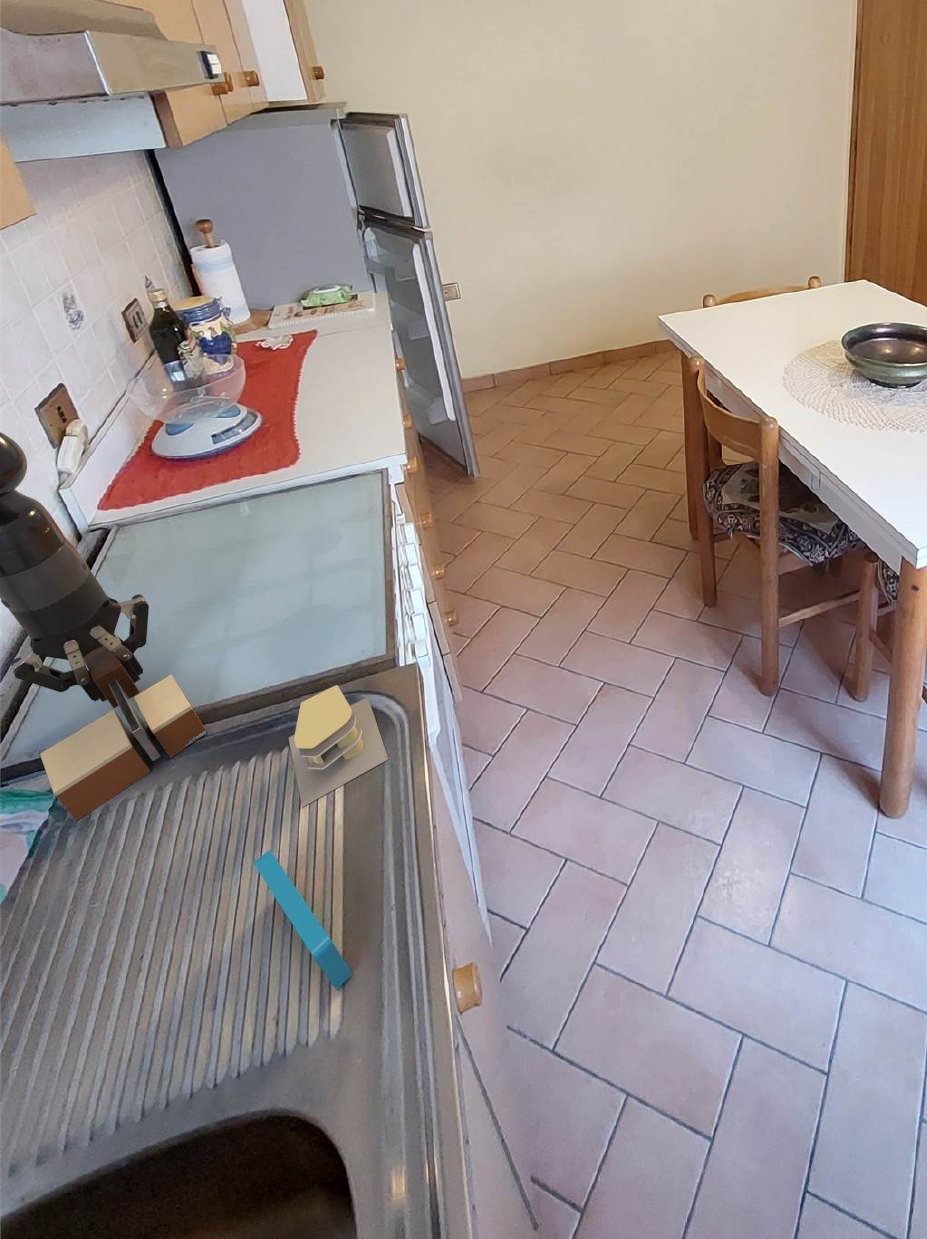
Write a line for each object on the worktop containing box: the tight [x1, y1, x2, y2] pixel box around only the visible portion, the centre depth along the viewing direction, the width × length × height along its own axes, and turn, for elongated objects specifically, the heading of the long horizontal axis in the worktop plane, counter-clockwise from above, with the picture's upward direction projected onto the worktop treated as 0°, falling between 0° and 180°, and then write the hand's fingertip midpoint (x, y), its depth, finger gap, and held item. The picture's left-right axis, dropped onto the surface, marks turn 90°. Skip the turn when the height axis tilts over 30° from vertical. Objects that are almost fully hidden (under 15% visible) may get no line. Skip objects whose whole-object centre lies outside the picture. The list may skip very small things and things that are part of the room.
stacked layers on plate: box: [288, 684, 389, 808], centre depth 80 cm, size 10×9×6 cm
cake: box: [39, 708, 152, 821], centre depth 80 cm, size 7×7×5 cm
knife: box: [83, 646, 162, 762], centre depth 84 cm, size 3×18×5 cm, turn 48°
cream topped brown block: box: [133, 674, 207, 759], centre depth 84 cm, size 4×7×5 cm, turn 48°
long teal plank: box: [253, 849, 353, 991], centre depth 64 cm, size 12×2×6 cm, turn 50°
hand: (119, 686), depth 89 cm, fingers closed on knife, 3 cm apart
